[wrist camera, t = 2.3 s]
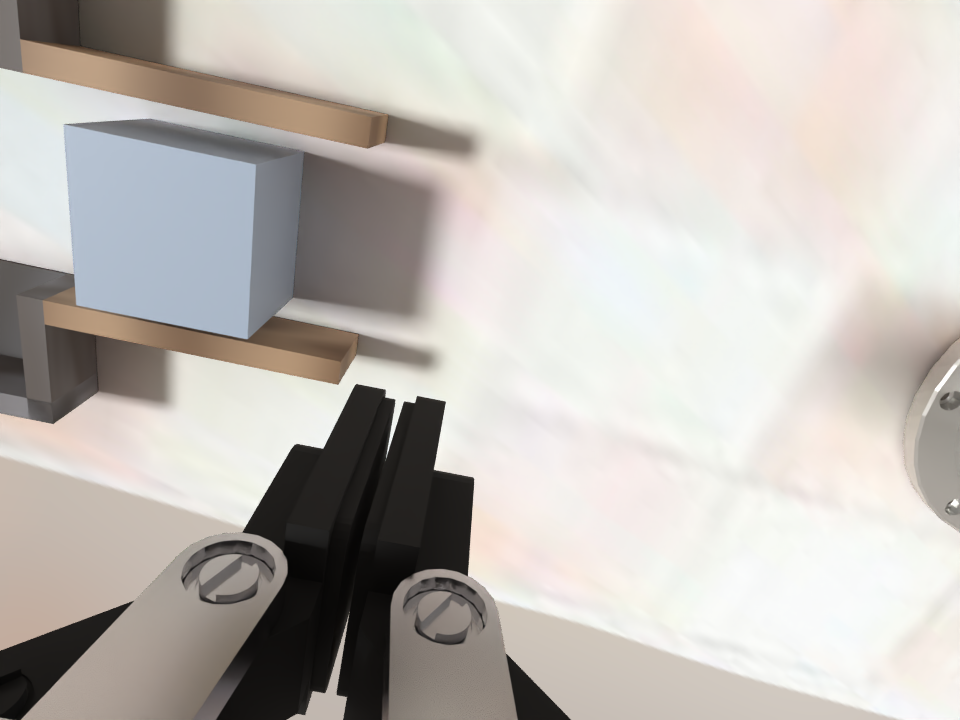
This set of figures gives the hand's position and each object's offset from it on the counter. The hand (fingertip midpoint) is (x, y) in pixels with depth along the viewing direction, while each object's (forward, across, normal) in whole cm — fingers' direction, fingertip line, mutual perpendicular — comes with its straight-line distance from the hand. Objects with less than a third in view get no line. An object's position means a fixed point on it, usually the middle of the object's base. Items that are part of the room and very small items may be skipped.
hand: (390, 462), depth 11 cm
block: (+15, +9, 0) cm, 18 cm away
